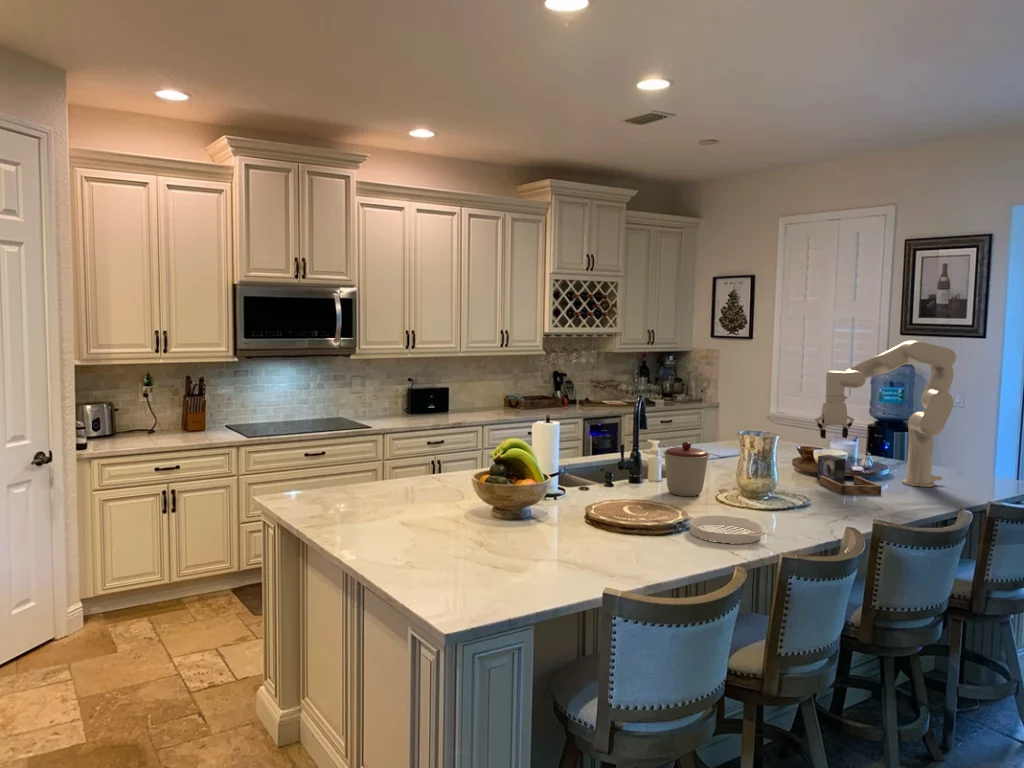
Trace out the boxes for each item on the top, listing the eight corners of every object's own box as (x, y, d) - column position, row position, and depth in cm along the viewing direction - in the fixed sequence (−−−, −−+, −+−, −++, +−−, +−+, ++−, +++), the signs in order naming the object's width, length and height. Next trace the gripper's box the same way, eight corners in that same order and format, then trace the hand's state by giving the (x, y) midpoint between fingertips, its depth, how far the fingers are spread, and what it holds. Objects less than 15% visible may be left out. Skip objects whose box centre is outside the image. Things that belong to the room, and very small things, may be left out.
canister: (684, 501, 298) (686, 447, 296) (652, 491, 313) (654, 440, 311) (717, 496, 307) (719, 443, 306) (684, 487, 323) (686, 437, 321)
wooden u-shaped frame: (856, 483, 335) (856, 475, 335) (880, 494, 315) (881, 486, 315) (819, 483, 334) (819, 475, 334) (841, 494, 314) (842, 485, 314)
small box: (815, 478, 345) (817, 455, 344) (827, 477, 348) (828, 454, 347) (833, 483, 335) (834, 459, 335) (845, 482, 338) (846, 458, 337)
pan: (740, 552, 235) (741, 540, 234) (634, 523, 265) (634, 513, 264) (781, 537, 251) (782, 526, 251) (677, 512, 281) (677, 502, 281)
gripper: (849, 398, 343) (848, 436, 344) (811, 398, 342) (810, 437, 343) (858, 399, 335) (857, 439, 337) (819, 400, 334) (818, 439, 336)
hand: (833, 438), depth 340 cm, fingers open, 9 cm apart
